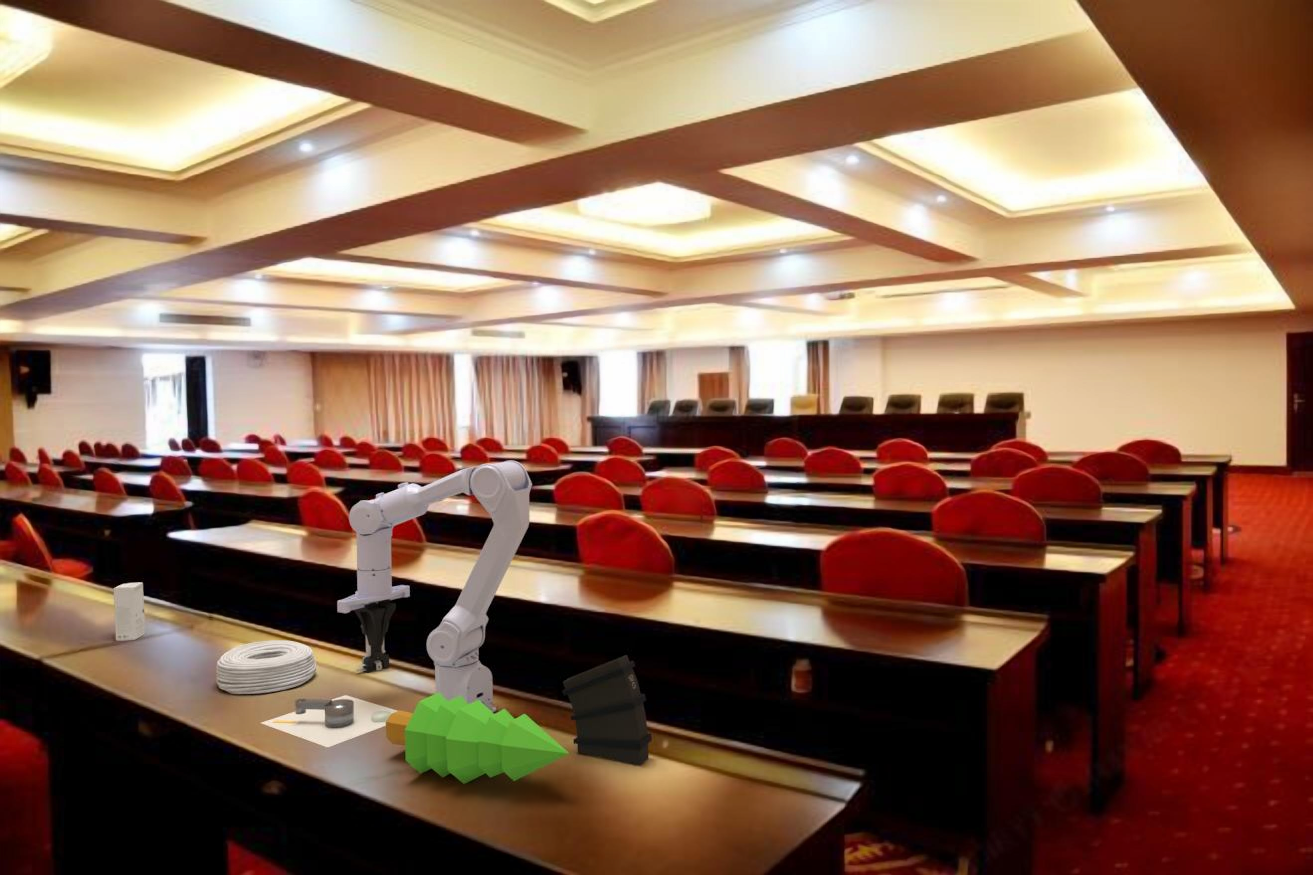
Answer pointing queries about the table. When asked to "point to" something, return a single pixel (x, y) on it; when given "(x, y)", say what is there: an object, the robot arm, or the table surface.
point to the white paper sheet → (317, 732)
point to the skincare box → (129, 611)
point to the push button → (374, 657)
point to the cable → (265, 667)
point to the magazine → (609, 712)
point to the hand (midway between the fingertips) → (375, 645)
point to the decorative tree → (470, 740)
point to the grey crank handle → (329, 710)
